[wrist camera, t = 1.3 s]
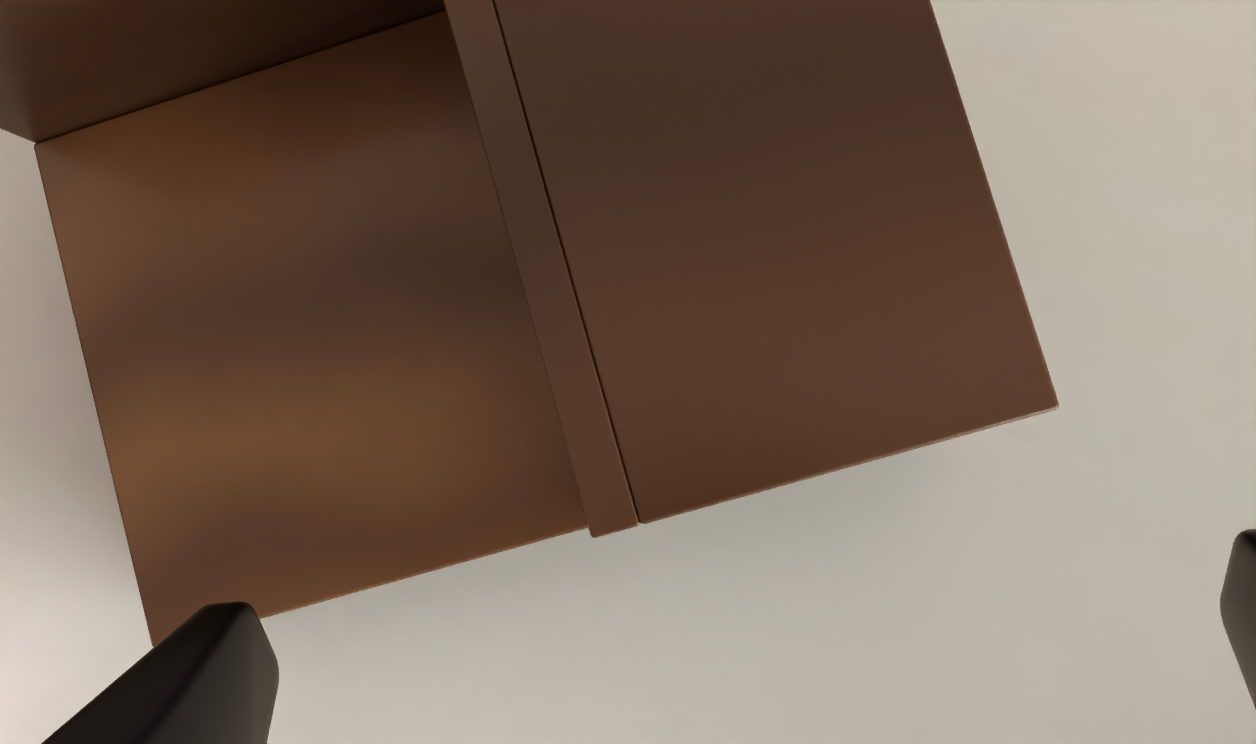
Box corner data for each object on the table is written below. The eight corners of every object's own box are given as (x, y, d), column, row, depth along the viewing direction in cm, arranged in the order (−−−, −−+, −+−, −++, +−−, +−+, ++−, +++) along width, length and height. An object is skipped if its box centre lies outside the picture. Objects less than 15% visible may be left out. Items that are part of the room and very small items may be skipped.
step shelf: (953, 416, 24) (1108, 405, 14) (243, 615, 25) (-77, 733, 15) (803, -69, 25) (846, -403, 15) (129, 149, 26) (-241, -23, 16)
